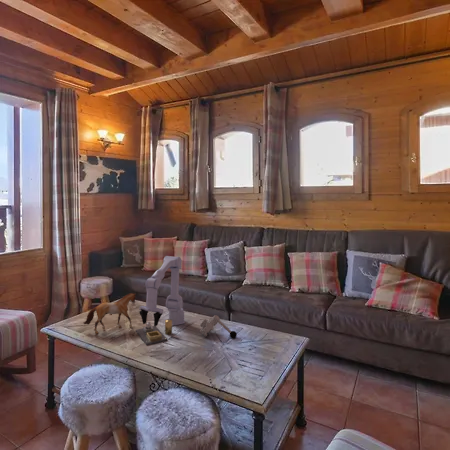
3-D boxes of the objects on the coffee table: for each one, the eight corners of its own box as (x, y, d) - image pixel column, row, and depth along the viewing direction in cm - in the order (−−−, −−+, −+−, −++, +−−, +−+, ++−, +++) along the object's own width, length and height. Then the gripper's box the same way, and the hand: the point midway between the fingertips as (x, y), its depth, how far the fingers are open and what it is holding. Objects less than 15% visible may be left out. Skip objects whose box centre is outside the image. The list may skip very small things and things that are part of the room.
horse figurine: (136, 323, 207) (135, 291, 205) (138, 327, 200) (138, 295, 198) (83, 331, 193) (82, 298, 191) (84, 336, 186) (83, 302, 184)
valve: (219, 355, 185) (236, 339, 181) (194, 331, 187) (210, 314, 183) (224, 346, 195) (240, 330, 191) (200, 323, 197) (215, 307, 193)
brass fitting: (170, 331, 194) (170, 318, 194) (172, 334, 191) (172, 320, 190) (164, 332, 192) (164, 319, 192) (166, 335, 189) (166, 322, 188)
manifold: (155, 327, 200) (155, 317, 200) (167, 340, 182) (167, 330, 182) (135, 331, 194) (135, 321, 194) (146, 345, 176) (146, 334, 176)
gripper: (136, 299, 178) (134, 324, 177) (158, 302, 172) (156, 328, 171) (144, 297, 184) (142, 321, 184) (165, 300, 179) (164, 325, 178)
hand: (150, 324), depth 178 cm, fingers open, 7 cm apart
